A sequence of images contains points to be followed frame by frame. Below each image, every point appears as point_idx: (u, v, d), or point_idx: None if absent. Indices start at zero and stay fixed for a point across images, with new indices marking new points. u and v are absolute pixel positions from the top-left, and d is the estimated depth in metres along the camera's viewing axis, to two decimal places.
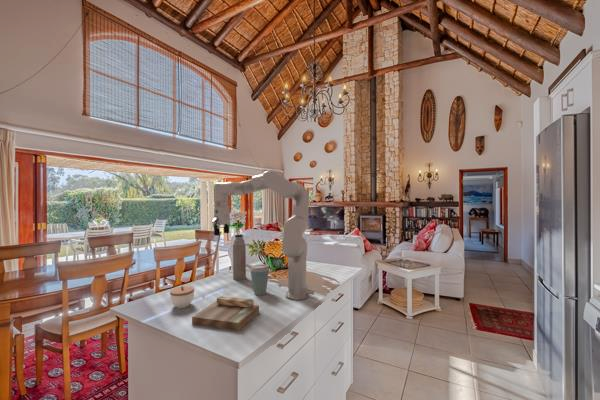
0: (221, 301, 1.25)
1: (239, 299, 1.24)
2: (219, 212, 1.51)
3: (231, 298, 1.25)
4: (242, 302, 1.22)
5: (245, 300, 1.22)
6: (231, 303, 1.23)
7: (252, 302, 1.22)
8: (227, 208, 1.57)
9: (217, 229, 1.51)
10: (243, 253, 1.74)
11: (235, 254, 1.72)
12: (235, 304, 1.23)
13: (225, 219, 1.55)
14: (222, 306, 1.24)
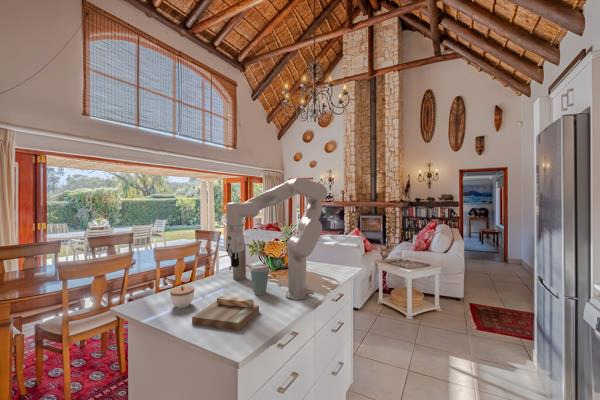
0: (221, 301, 1.25)
1: (239, 299, 1.24)
2: (232, 239, 1.26)
3: (231, 298, 1.25)
4: (242, 302, 1.22)
5: (245, 300, 1.22)
6: (231, 303, 1.23)
7: (252, 302, 1.22)
8: (241, 233, 1.32)
9: (235, 260, 1.30)
10: (243, 253, 1.74)
11: None
12: (235, 304, 1.23)
13: (239, 246, 1.30)
14: (222, 306, 1.24)
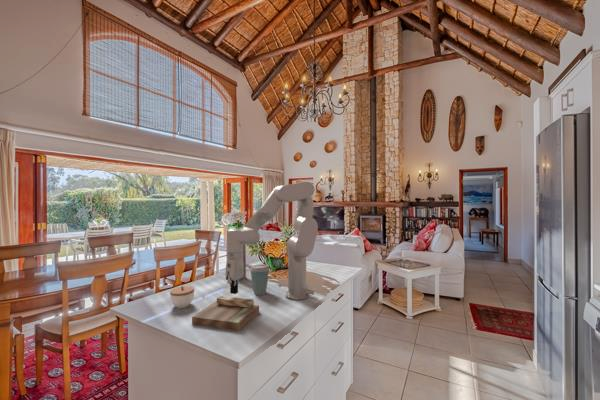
0: (221, 301, 1.25)
1: (239, 299, 1.24)
2: (232, 266, 1.26)
3: (231, 298, 1.25)
4: (242, 302, 1.22)
5: (245, 300, 1.22)
6: (231, 303, 1.23)
7: (252, 302, 1.22)
8: (241, 259, 1.33)
9: (234, 287, 1.30)
10: (243, 253, 1.74)
11: None
12: (235, 304, 1.23)
13: (239, 273, 1.30)
14: (222, 306, 1.24)
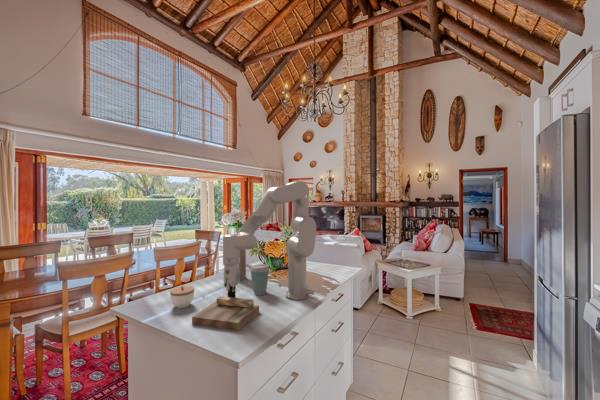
0: (221, 301, 1.25)
1: (239, 299, 1.24)
2: (231, 272, 1.23)
3: (231, 298, 1.25)
4: (242, 302, 1.22)
5: (245, 300, 1.22)
6: (231, 303, 1.23)
7: (252, 302, 1.22)
8: (238, 265, 1.30)
9: (232, 293, 1.27)
10: (243, 253, 1.74)
11: None
12: (235, 304, 1.23)
13: (236, 279, 1.28)
14: (222, 306, 1.24)
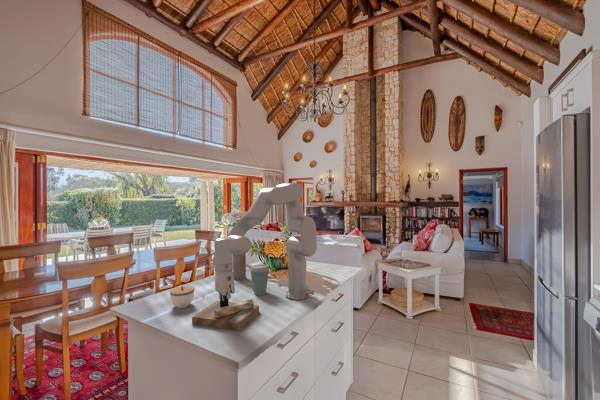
0: (222, 312, 1.12)
1: (239, 303, 1.19)
2: (232, 278, 1.15)
3: (230, 306, 1.16)
4: (245, 304, 1.19)
5: (246, 302, 1.21)
6: (234, 310, 1.16)
7: None
8: None
9: (227, 301, 1.17)
10: (243, 253, 1.74)
11: (235, 254, 1.72)
12: (238, 309, 1.17)
13: None
14: None
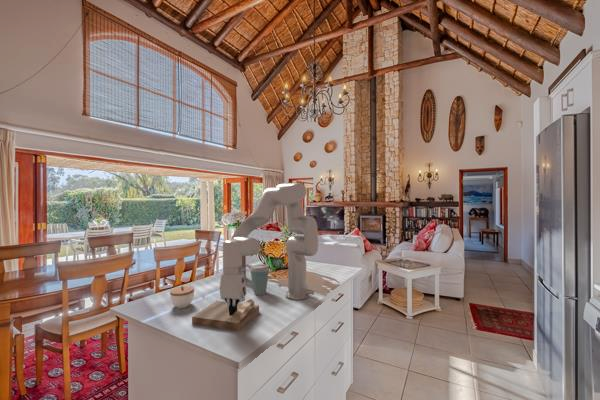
0: (241, 316, 1.09)
1: (245, 305, 1.17)
2: None
3: (241, 309, 1.13)
4: (250, 304, 1.19)
5: (249, 302, 1.20)
6: (246, 312, 1.14)
7: None
8: None
9: None
10: None
11: None
12: (247, 310, 1.16)
13: None
14: (222, 306, 1.24)
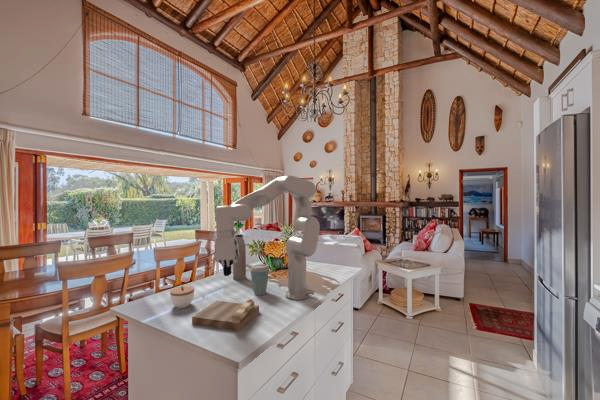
0: (241, 316, 1.09)
1: (245, 305, 1.17)
2: (237, 243, 1.21)
3: (241, 309, 1.13)
4: (250, 304, 1.19)
5: (249, 302, 1.20)
6: (246, 312, 1.14)
7: None
8: None
9: None
10: (243, 253, 1.74)
11: None
12: (247, 310, 1.16)
13: None
14: (222, 306, 1.24)
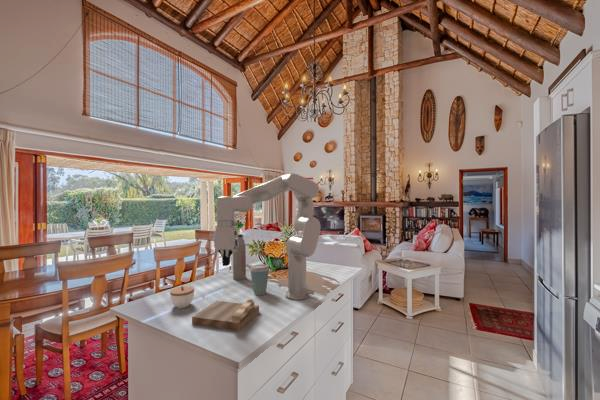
0: (241, 316, 1.09)
1: (245, 305, 1.17)
2: (237, 233, 1.22)
3: (241, 309, 1.13)
4: (250, 304, 1.19)
5: (249, 302, 1.20)
6: (246, 312, 1.14)
7: None
8: None
9: None
10: (243, 253, 1.74)
11: (235, 254, 1.72)
12: (247, 310, 1.16)
13: None
14: (222, 306, 1.24)
